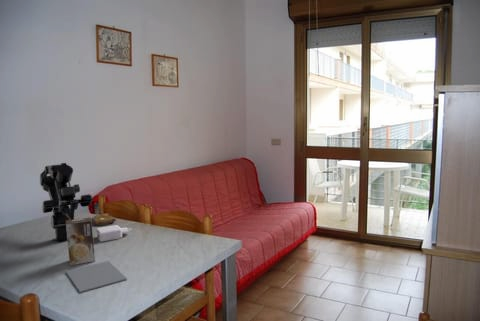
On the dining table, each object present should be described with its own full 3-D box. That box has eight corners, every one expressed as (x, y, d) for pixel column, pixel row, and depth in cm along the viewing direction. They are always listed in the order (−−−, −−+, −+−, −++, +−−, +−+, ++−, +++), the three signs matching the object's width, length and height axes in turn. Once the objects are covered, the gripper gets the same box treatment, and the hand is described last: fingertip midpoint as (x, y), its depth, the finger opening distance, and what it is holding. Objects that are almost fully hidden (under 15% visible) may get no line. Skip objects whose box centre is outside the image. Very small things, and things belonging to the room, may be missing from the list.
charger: (134, 236, 173) (100, 242, 166) (129, 231, 181) (96, 237, 174) (134, 226, 173) (100, 232, 165) (128, 222, 181) (96, 227, 173)
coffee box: (94, 256, 149) (91, 216, 148) (95, 261, 144) (92, 220, 142) (69, 260, 146) (66, 219, 144) (69, 265, 140) (65, 224, 138)
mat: (65, 272, 134) (65, 271, 134) (108, 262, 143) (108, 260, 143) (80, 293, 118) (80, 291, 118) (126, 279, 127) (126, 278, 127)
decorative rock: (87, 222, 200) (97, 229, 189) (86, 215, 199) (96, 221, 188) (108, 217, 207) (119, 223, 196) (107, 210, 206) (118, 216, 195)
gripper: (41, 181, 149) (48, 215, 143) (89, 175, 161) (99, 206, 154) (39, 196, 157) (46, 229, 150) (85, 190, 168) (94, 220, 161)
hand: (72, 220), depth 154 cm, fingers closed
